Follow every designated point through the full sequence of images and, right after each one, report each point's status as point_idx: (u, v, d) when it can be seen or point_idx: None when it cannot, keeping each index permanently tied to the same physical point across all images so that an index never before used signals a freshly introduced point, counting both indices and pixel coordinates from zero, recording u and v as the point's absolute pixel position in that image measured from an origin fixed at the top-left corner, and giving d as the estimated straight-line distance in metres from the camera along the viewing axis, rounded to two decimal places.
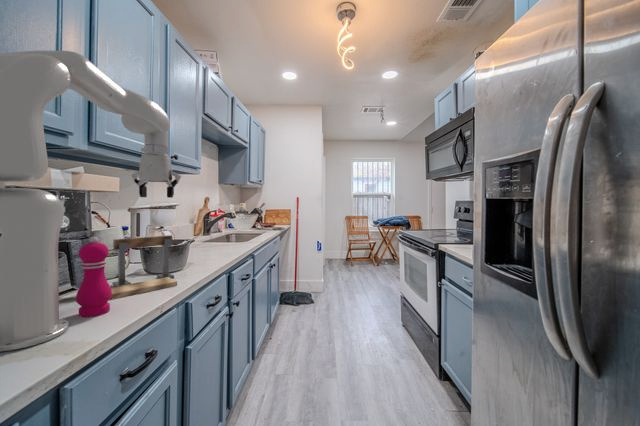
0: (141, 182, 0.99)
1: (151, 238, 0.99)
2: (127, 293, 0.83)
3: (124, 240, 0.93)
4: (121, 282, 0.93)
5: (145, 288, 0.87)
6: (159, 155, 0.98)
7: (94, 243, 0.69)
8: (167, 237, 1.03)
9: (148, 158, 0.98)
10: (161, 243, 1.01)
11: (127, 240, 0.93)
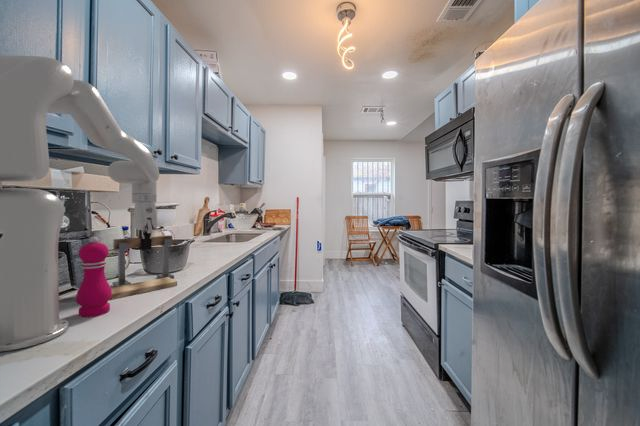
0: None
1: (151, 238, 0.99)
2: (127, 293, 0.83)
3: (124, 240, 0.93)
4: (121, 282, 0.93)
5: (145, 288, 0.87)
6: None
7: (94, 243, 0.69)
8: (167, 237, 1.03)
9: None
10: (161, 243, 1.01)
11: (127, 240, 0.93)
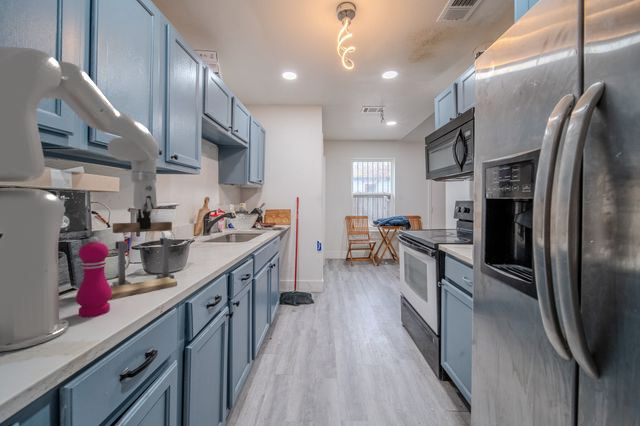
0: None
1: (151, 223, 0.98)
2: (127, 293, 0.83)
3: (123, 224, 0.92)
4: (121, 282, 0.93)
5: (145, 288, 0.87)
6: None
7: (94, 243, 0.69)
8: (167, 223, 1.03)
9: None
10: (161, 229, 1.01)
11: (126, 224, 0.93)
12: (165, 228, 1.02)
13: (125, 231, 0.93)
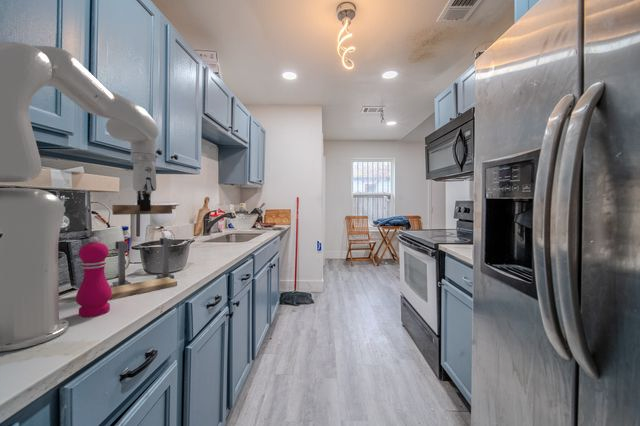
0: None
1: (151, 206, 0.98)
2: (127, 293, 0.83)
3: (123, 206, 0.91)
4: (121, 282, 0.93)
5: (145, 288, 0.87)
6: None
7: (94, 243, 0.69)
8: (167, 206, 1.02)
9: None
10: (161, 212, 1.00)
11: (126, 206, 0.92)
12: (165, 211, 1.01)
13: (125, 213, 0.92)
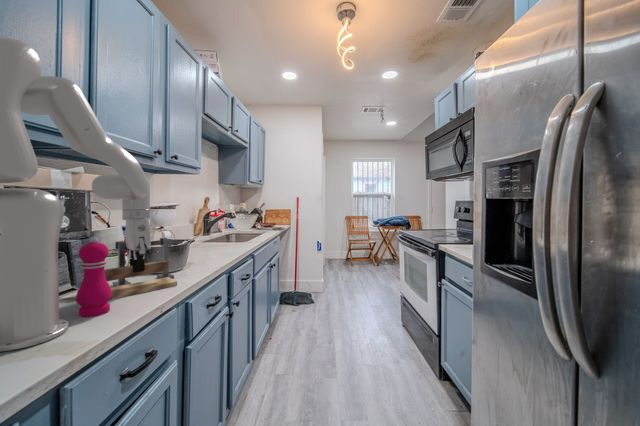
0: None
1: None
2: (127, 293, 0.83)
3: (114, 271, 0.83)
4: (121, 282, 0.93)
5: (145, 288, 0.87)
6: None
7: (94, 243, 0.69)
8: (162, 263, 0.93)
9: None
10: (156, 270, 0.92)
11: (117, 270, 0.84)
12: (161, 269, 0.93)
13: (116, 278, 0.83)
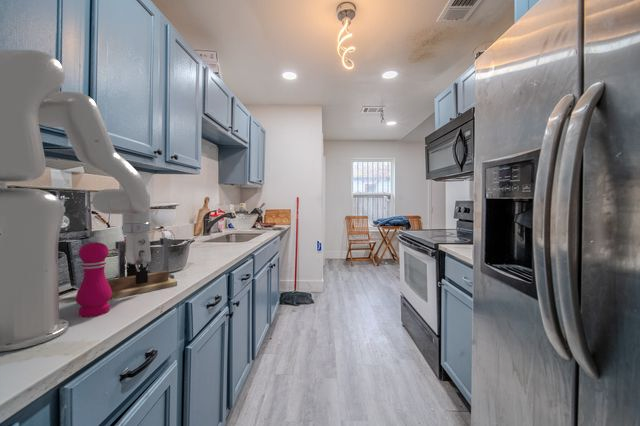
0: None
1: None
2: (127, 293, 0.83)
3: (114, 281, 0.83)
4: None
5: (145, 288, 0.87)
6: None
7: (94, 243, 0.69)
8: (163, 273, 0.94)
9: None
10: (156, 281, 0.92)
11: (118, 281, 0.84)
12: (161, 279, 0.93)
13: (116, 289, 0.84)
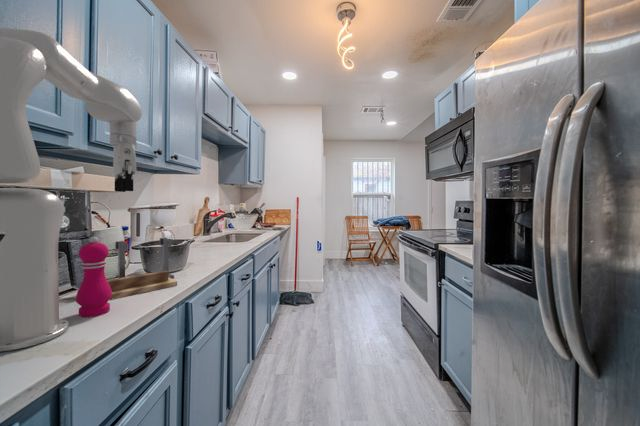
0: None
1: (145, 276, 0.90)
2: (127, 293, 0.83)
3: (114, 281, 0.83)
4: None
5: (145, 288, 0.87)
6: None
7: (94, 243, 0.69)
8: (163, 273, 0.94)
9: None
10: (156, 281, 0.92)
11: (118, 281, 0.84)
12: (161, 279, 0.93)
13: (116, 289, 0.84)
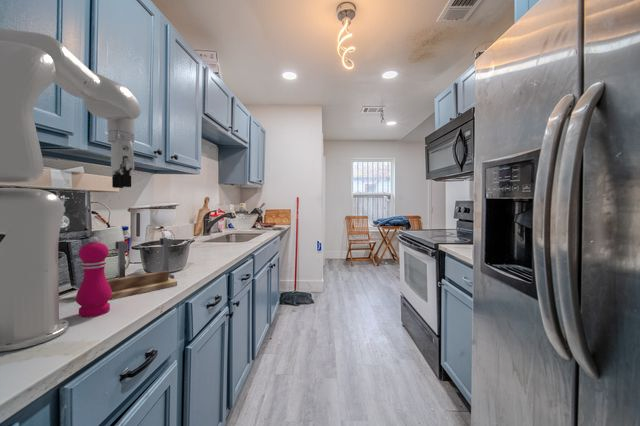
0: None
1: (145, 276, 0.90)
2: (127, 293, 0.83)
3: (114, 281, 0.83)
4: None
5: (145, 288, 0.87)
6: None
7: (94, 243, 0.69)
8: (163, 273, 0.94)
9: None
10: (156, 281, 0.92)
11: (118, 281, 0.84)
12: (161, 279, 0.93)
13: (116, 289, 0.84)
